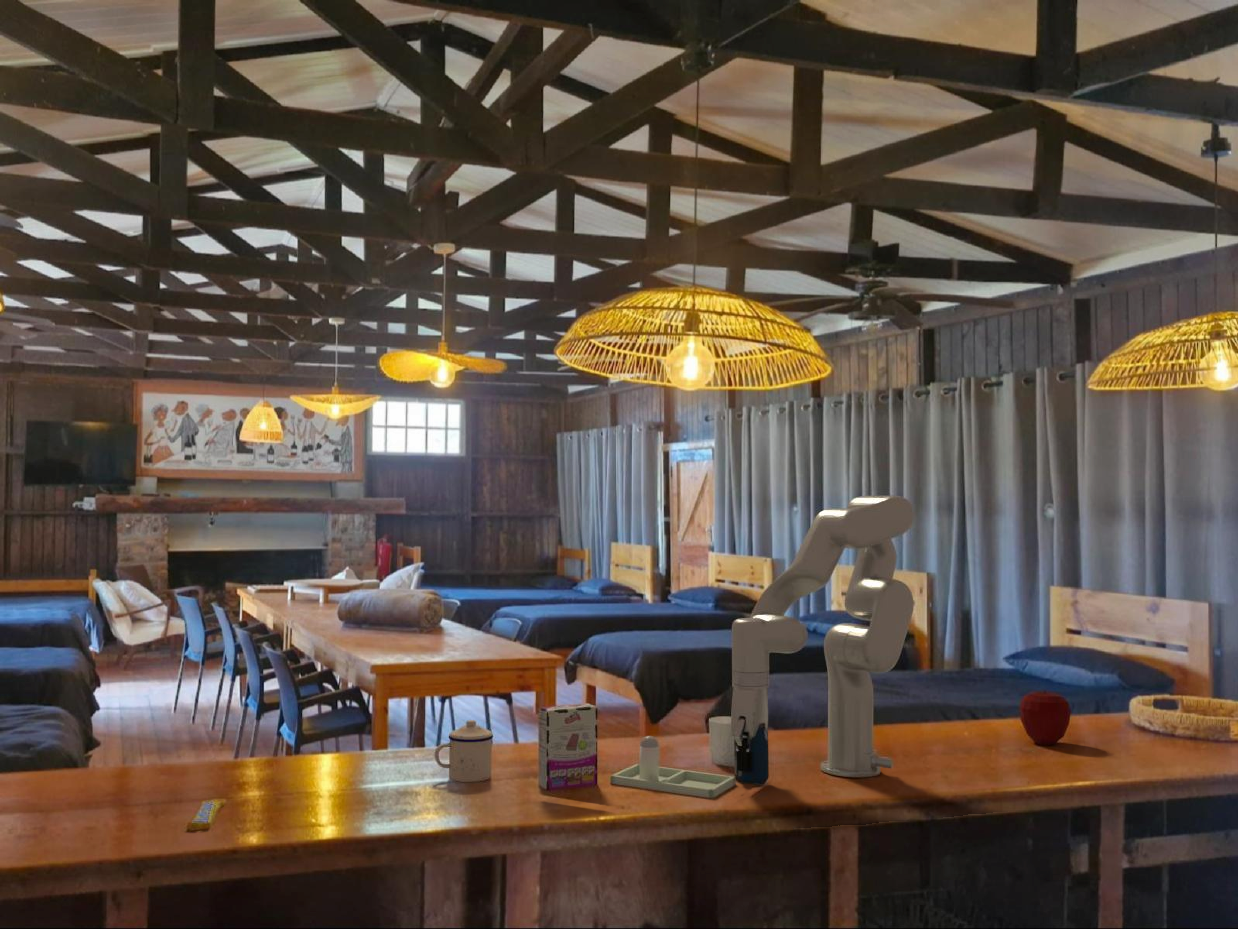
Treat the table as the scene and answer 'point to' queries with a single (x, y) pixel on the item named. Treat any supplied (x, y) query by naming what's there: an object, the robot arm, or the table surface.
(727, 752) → the white cup
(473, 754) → the teacup with lid
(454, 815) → the table surface
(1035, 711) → the apple
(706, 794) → the caddy
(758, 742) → the soda can
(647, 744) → the shaker
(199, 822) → the candy bar
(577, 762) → the candy bar box
